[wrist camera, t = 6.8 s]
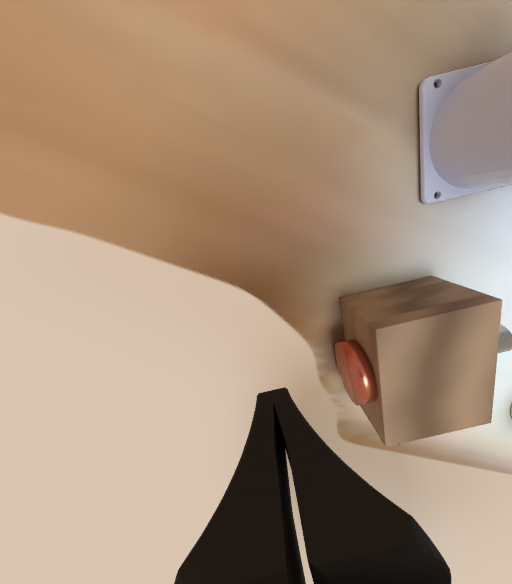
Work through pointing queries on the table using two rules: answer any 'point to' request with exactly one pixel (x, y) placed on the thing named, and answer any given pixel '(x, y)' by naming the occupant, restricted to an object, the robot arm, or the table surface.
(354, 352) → the pin
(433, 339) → the block
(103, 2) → the table surface
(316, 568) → the robot arm
